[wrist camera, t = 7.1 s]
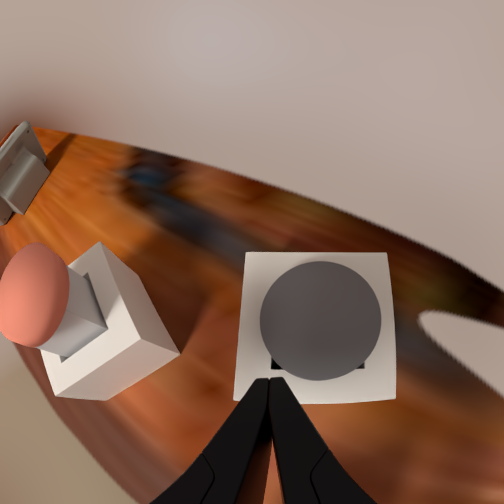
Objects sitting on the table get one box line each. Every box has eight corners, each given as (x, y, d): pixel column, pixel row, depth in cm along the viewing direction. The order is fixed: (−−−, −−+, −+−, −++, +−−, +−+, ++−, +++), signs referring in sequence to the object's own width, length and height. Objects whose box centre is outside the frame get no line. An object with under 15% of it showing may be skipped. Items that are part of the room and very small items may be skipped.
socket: (365, 396, 19) (395, 398, 13) (250, 396, 20) (233, 400, 14) (363, 290, 23) (386, 252, 17) (258, 289, 24) (245, 252, 18)
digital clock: (48, 154, 41) (20, 117, 32) (65, 162, 39) (33, 118, 29) (-2, 221, 36) (-37, 189, 27) (9, 238, 33) (-33, 202, 24)
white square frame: (180, 354, 22) (140, 338, 16) (106, 400, 21) (55, 395, 15) (138, 275, 26) (99, 240, 20) (75, 322, 25) (29, 299, 19)
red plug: (136, 339, 19) (63, 305, 12) (79, 377, 18) (2, 358, 11) (108, 274, 22) (47, 224, 14) (58, 313, 20) (-7, 277, 13)
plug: (351, 381, 19) (383, 376, 12) (267, 381, 20) (255, 378, 13) (350, 303, 22) (376, 261, 15) (272, 303, 23) (263, 260, 16)
